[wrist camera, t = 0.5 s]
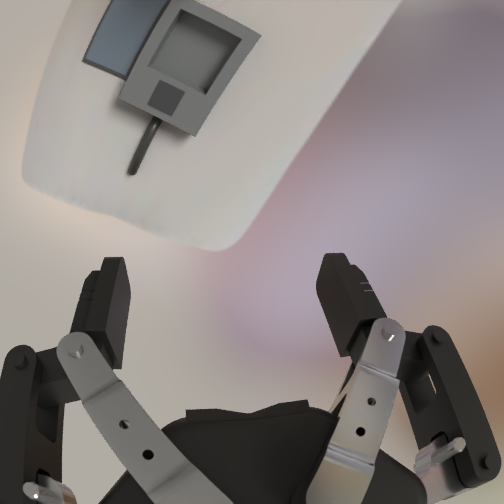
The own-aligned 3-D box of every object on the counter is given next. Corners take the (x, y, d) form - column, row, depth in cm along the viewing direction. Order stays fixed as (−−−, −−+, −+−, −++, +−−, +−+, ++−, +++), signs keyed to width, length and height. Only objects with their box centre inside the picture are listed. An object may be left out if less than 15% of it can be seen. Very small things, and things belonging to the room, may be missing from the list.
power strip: (181, -5, 23) (176, -8, 21) (260, 35, 26) (261, 35, 24) (100, 156, 34) (91, 165, 32) (165, 189, 37) (160, 200, 35)
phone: (135, -35, 20) (133, -37, 19) (184, -18, 22) (182, -19, 22) (85, 59, 27) (81, 61, 26) (129, 78, 29) (126, 79, 28)
